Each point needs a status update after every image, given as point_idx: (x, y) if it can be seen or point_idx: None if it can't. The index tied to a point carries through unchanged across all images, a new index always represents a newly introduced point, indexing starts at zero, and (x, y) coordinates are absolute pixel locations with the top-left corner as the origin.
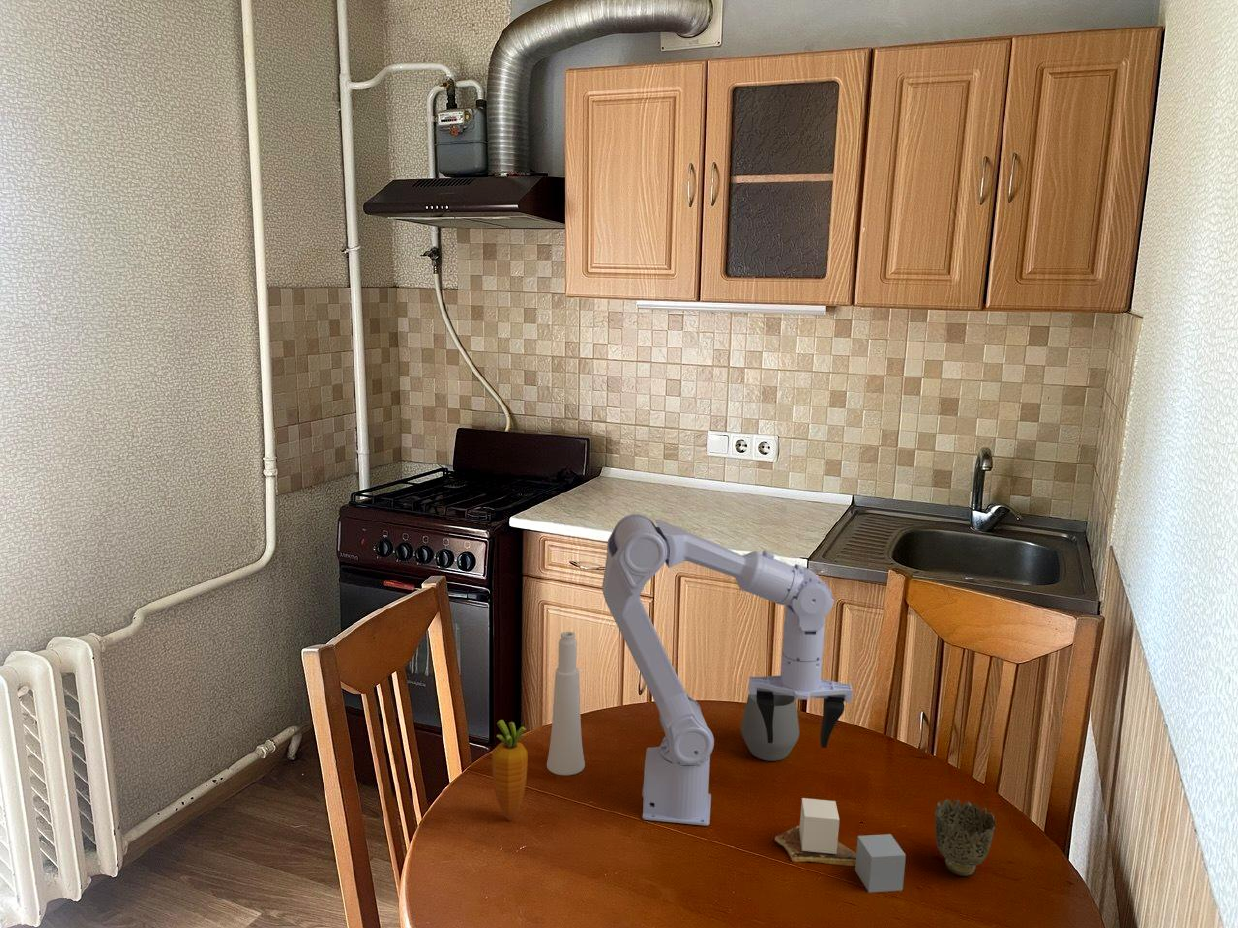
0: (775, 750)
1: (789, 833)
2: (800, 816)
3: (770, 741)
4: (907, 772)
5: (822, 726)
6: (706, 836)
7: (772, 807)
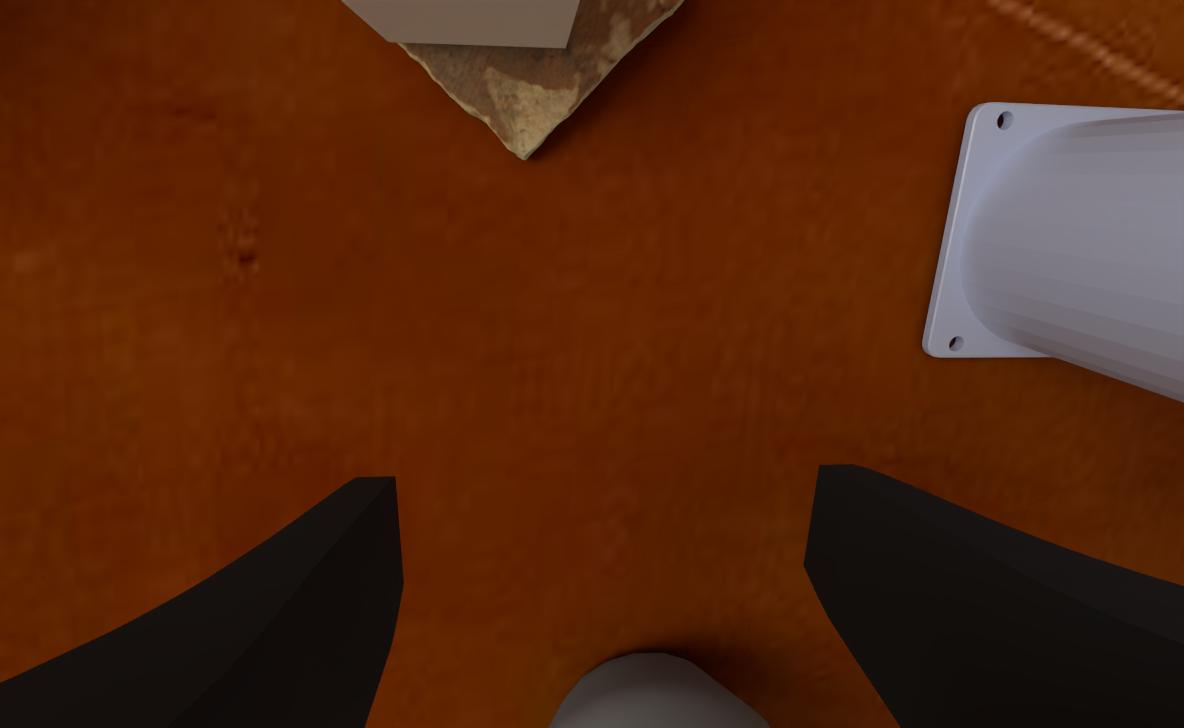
0: (635, 679)
1: (617, 22)
2: (570, 29)
3: (846, 467)
4: None
5: (358, 692)
6: (988, 23)
7: (661, 314)
